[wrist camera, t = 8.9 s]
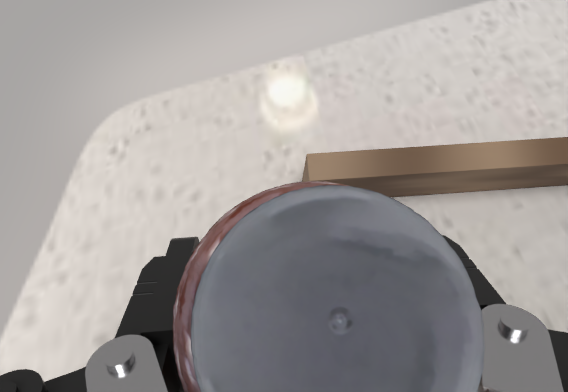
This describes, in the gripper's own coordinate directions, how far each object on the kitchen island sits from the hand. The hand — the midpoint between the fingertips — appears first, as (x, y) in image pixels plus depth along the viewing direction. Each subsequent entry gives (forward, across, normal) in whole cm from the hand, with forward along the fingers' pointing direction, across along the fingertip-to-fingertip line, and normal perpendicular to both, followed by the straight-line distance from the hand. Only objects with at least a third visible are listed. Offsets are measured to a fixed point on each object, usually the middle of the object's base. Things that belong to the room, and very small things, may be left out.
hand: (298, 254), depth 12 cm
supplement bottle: (+2, 0, +5) cm, 5 cm away
